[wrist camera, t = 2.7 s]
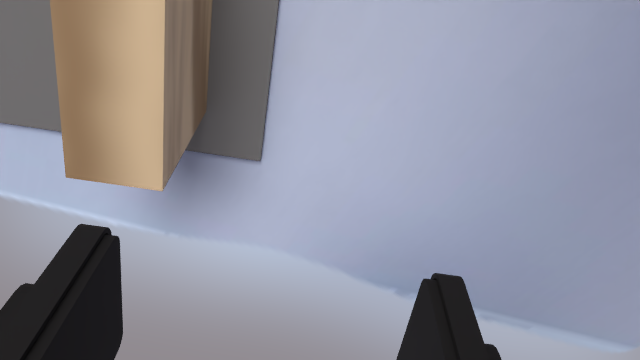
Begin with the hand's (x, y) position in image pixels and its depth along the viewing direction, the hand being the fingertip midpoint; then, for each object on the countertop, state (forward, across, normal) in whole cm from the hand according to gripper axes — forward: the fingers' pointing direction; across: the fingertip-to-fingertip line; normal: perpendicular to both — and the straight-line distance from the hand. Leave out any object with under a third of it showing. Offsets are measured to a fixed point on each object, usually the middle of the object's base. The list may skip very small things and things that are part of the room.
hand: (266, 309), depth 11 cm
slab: (+23, +8, 0) cm, 25 cm away
